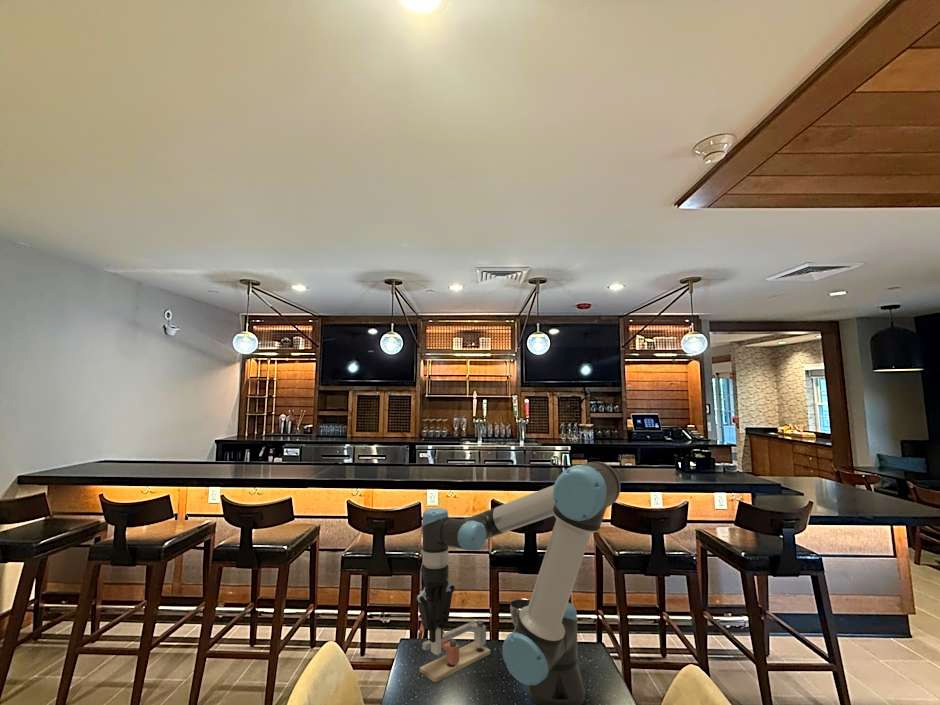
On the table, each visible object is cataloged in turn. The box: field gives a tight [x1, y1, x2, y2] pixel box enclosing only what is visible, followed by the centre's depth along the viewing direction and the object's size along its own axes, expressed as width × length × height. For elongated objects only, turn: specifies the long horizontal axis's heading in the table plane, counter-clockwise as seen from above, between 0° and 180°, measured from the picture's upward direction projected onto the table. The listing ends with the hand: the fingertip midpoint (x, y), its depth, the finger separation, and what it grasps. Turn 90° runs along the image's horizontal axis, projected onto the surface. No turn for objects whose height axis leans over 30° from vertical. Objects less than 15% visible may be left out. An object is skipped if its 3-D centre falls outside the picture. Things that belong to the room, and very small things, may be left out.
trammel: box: [421, 620, 487, 651], centre depth 136 cm, size 6×20×8 cm, turn 134°
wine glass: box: [509, 598, 530, 627], centre depth 141 cm, size 8×8×15 cm
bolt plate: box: [419, 641, 491, 683], centre depth 136 cm, size 7×22×1 cm, turn 134°
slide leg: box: [441, 629, 460, 665], centre depth 135 cm, size 8×3×6 cm, turn 43°
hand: (436, 652), depth 128 cm, fingers closed
